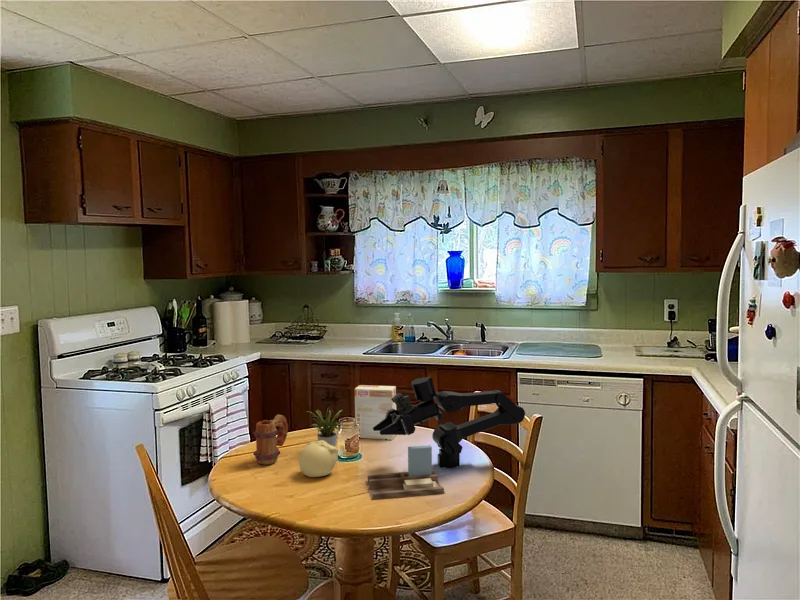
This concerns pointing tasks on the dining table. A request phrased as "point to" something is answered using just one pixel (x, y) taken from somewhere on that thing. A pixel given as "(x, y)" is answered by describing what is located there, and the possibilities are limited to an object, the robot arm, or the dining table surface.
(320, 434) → the house plant
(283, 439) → the mug
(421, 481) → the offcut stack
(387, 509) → the dining table surface
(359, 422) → the coffeecake box
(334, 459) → the sculpture
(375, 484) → the rack
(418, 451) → the light blue block
